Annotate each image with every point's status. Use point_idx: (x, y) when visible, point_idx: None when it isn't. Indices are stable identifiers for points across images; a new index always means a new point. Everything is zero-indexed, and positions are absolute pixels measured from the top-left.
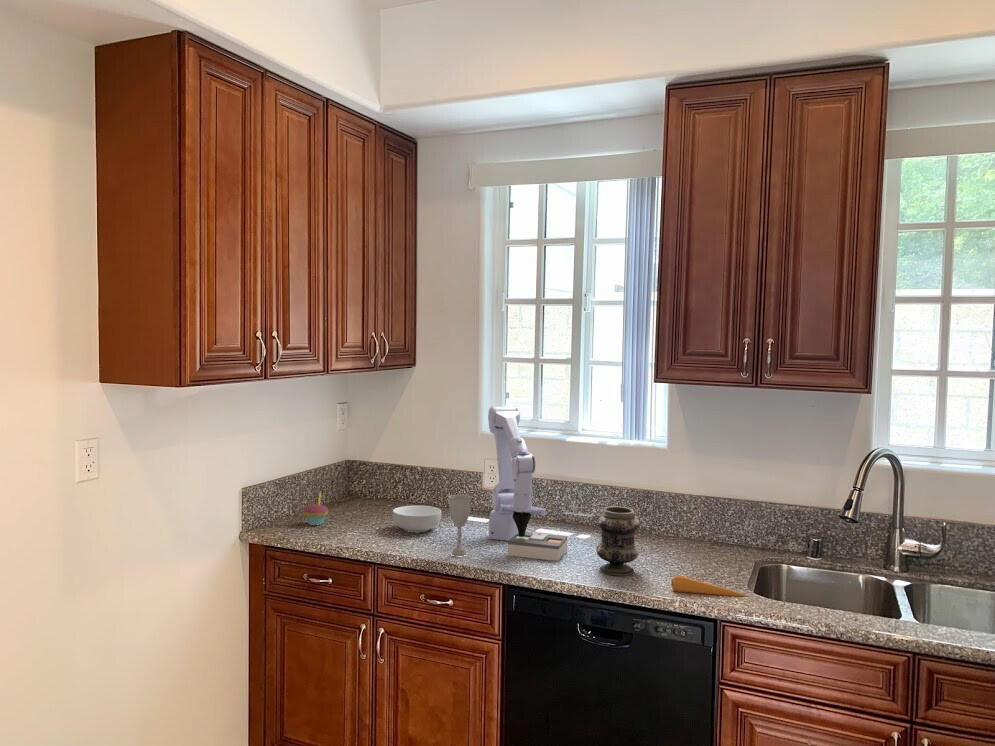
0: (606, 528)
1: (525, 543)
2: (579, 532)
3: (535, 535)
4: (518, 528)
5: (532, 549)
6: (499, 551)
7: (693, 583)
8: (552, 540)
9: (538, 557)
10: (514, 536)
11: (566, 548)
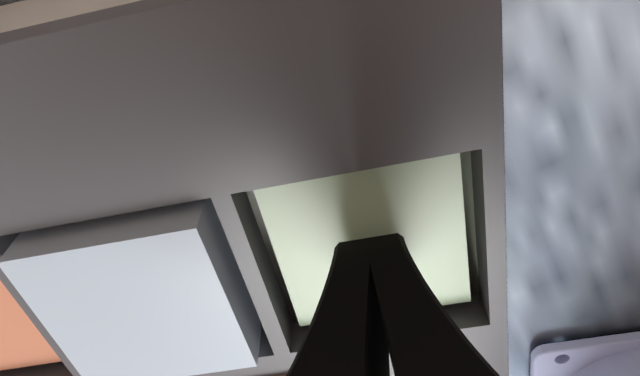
0: None
1: (137, 9)
2: None
3: (209, 350)
4: (422, 317)
5: (53, 12)
6: (600, 10)
7: None
8: (11, 346)
9: (18, 3)
10: (485, 240)
11: None
